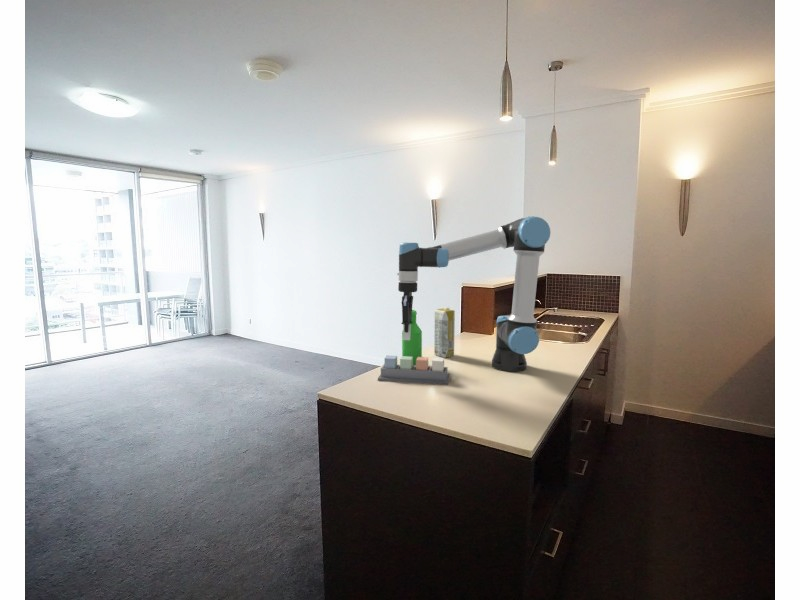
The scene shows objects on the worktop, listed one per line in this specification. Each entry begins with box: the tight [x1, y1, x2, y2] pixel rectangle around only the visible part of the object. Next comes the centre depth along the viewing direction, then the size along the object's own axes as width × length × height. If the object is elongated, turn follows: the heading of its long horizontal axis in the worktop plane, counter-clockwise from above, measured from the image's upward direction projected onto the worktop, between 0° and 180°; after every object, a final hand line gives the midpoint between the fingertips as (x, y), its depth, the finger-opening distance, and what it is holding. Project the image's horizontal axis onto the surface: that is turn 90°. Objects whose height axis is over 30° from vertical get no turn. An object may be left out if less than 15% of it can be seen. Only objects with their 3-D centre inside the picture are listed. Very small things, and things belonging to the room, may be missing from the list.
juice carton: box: [433, 306, 456, 359], centre depth 197 cm, size 9×8×24 cm
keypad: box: [377, 363, 451, 386], centre depth 165 cm, size 28×11×4 cm, turn 79°
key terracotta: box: [416, 356, 429, 371], centre depth 164 cm, size 4×4×5 cm
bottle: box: [401, 309, 423, 365], centre depth 182 cm, size 9×9×25 cm
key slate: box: [384, 355, 398, 369], centre depth 167 cm, size 4×4×5 cm
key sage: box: [399, 355, 413, 370], centre depth 166 cm, size 4×4×5 cm
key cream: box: [431, 357, 445, 371], centre depth 163 cm, size 4×4×5 cm
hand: (406, 339), depth 164 cm, fingers closed
